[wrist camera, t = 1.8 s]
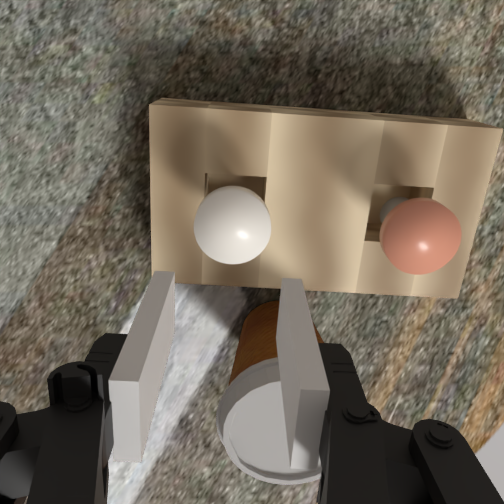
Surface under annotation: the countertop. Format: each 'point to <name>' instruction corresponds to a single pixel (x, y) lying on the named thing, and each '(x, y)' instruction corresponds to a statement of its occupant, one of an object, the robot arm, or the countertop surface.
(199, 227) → the white mushroom knob
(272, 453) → the disposable coffee cup
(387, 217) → the pink round-capped knob part
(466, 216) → the block
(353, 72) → the countertop surface
